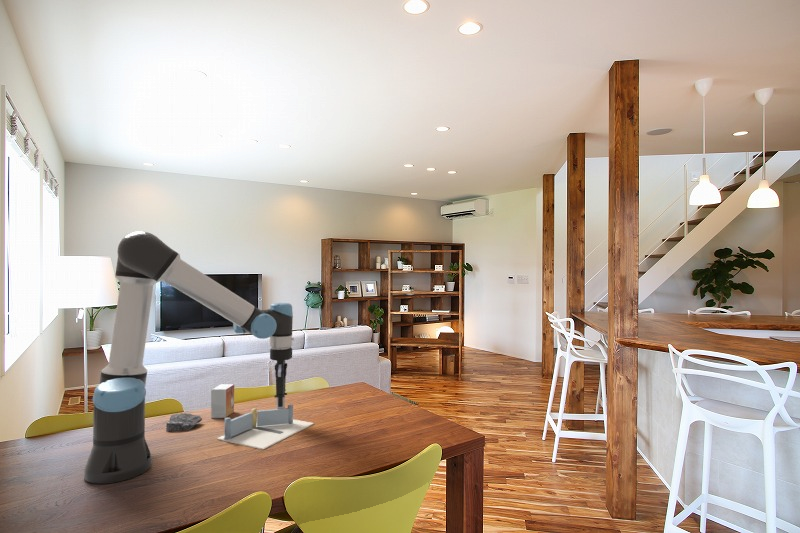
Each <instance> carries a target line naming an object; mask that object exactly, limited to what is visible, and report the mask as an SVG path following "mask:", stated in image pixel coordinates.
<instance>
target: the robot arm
mask: <svg viewBox="0 0 800 533" xmlns="http://www.w3.org/2000/svg"><path fill="white" fill-rule="evenodd" d="M116 260H117V261H116V267H115V274H114V277H115V278H116V279H117V281H118V282H119V289H118V296H117V305H116V311H115V318H114V323H113V324H114V325H113V331H112V332H113V333H112V338H111V346H110V352H109V357H108V358H109V360H108V364H107V365H106V366H105V367H104V368H102V369H101V372H100V379H99V384H98V385H96V387H95V388H94V391H93V396H92V403H93V414H92V415H93V416H92V417H93V419H92V420H93V423H92V429H93V431H92V432H93V433H92V447H91V450H90V453H89V456H88V458H87V462H86V464H85V466H84V471H83V472H84V473H83V474H84V475H83V476H84V477H83V478H84V480H85V482H88V483H90V484H99V485H100V484H101V485H102V484H103V485H104V484H113V483H119V482H122V481H127V480H129V479H133V478H136V477H137V476H138V477H139V476H140V475H143V474H144V473H145V472H147V471H148V470H149V469H150V468H151V467H152V463H153V462H152V461H153V460H152V459H153V458H152V453H151V451H150V449H149V448H150V447H149V446H148V443H147V440H146V437H145V433H146V432H145V429H146V428H145V425H146V424H145V423H146V422H145V421H146V396H147V390H146V384H147V376H148V369H147V368H146V367H145V366H144V364H143V363H144V356H145V350H146V342H147V341H146V340H147V334H148V327H149V319H150V314H151V313H150V312H151V306H152V297H153V290H154V286H155V285H156V284H157V283H160V282H164V283H166V284H167V285H169V286H171V287H173V288H174V289H176V290H178V291H179V292H180V293H183V294H184V295H186V296H188V297H189V298H191V299H193V300H195V301H196V302H198V303H200V304H201V305H203V306H205V307H206V308H207V309H209V310H211V311H213V312H215V313H216V314H218V315H220V316H221V317H223V318H224V319H226V320H228V321H229V322H231V323H232V326H233V331H234V333H236V334H250V335H252V336H253V337H255V338H257V339H262V340H263V339H269V347H270V349H269V359H270V360H272V361H276V363H275V364H274V374H275V375H274V376H275V394H276V395H275V394H274V398H275V399H276V409H283V408H286V396H288V392H286V391H287V390H286V376H287V369H288V363H287V362H286V361H289V360H292V358H293V348H292V346H293V341H294V340H295V338H294V337H293V317H294V316H293V314H294V313H293V305H292V304H291V303H289V302H272V303H271V304H270V307H269V308H267V309H260V308H258V307H256V306H255V305H254V304H252V303H250V302H249V301H247V300H246V299H244V298H242V297H241V296H239V295H237V294H236V293H235V292H233V291H231V290H230V289H229V288H227V287H225V286H223V285H222V284H220V283H219V282H217V281H216V280H214V279H213V278H211V277H210V276H208V275H206V274H205V273H203V272H201V271H200V270H199V269H197V268H195V267H193V265H192V264H191V265H190V264H189V263H188V262H186V261H184V260H183V259H182V258H181V254H180V253H178V252H177V251H175V250H174V249H173V248H171V247H170V246H168V244H167V243H165V242H163V240H161V239H160V238H159V237H158V236H157V235H155V234H153V233H150V232H147V231H134V232H131V233H129V234H126V235H125V236H124V237H123V238H122V239H121V240H120V242H119V244H118V246H117V259H116Z"/></svg>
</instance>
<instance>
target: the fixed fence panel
mask: <svg viewBox="0 0 800 533" xmlns="http://www.w3.org/2000/svg"><path fill="white" fill-rule="evenodd" d="M251 428H252V412H247V413H245V414H241V415H239V416H236V417H234V418H231V417H226V418H224V435H225V438H224V439H225V440H229V439H230V438H231V437H232V436H235V435H237V434H239V433H241V432H244V431H246V430H248V429H251Z"/></svg>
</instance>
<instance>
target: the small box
mask: <svg viewBox="0 0 800 533" xmlns="http://www.w3.org/2000/svg"><path fill="white" fill-rule="evenodd" d="M210 393H211V395H210V419H225V418H228V417H229V416H230V415H231V414H233V413H234V412H235V384H233V383H232V384H231V383H229V384H226V383H223V384H221V383H220V384H218V385H217V386H216V387H214V388H212V389H211V390H210Z"/></svg>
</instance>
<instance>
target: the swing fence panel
mask: <svg viewBox="0 0 800 533" xmlns="http://www.w3.org/2000/svg"><path fill="white" fill-rule="evenodd" d="M251 413H252V427H256V426H257V427H258V426H268V425H278V424H291V423H293V419H294V405H293V404H288V405H287V407H285V408H283V409H277V408H273V409H271V408H270V409H262V410H260V409H259V410H257V408H256V407H255V408H251Z"/></svg>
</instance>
